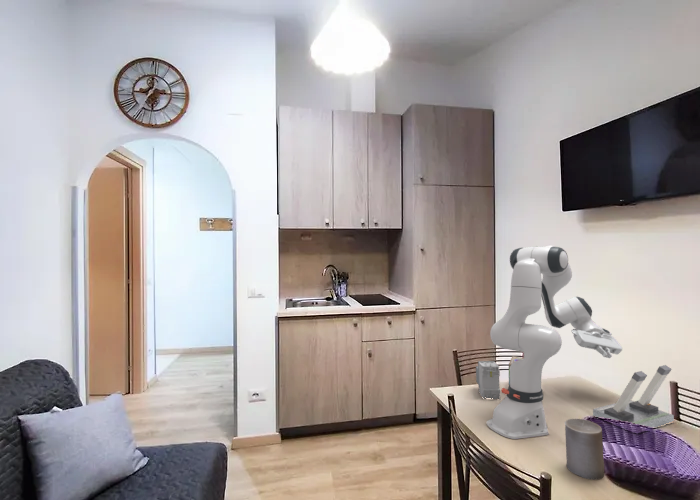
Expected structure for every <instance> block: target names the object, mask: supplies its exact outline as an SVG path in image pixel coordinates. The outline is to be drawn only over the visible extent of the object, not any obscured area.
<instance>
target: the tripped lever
mask: <svg viewBox="0 0 700 500" xmlns="http://www.w3.org/2000/svg"><path fill="white" fill-rule="evenodd" d="M672 370H673V369H672V367H671V368H670V366H668V365H666V364H664V365H660V366H659V367H658V368H657V369H656V372H655V374H654V376H653V377H652V379H651V380H650V382H649V383H648V385H647V387H646V388H645V390H644V391H643V393H642V394H641V396H640V398H639V399H638V400H637V401H638V402H639V403H641V404H642V405H647V404H651V402H652V400H653V398H654V397H655V395H656V394H657V392H658V391H659V389H660V388H661V386H662V385H663V382H664V381H665V380H666V378H667V376H668V375H669V374H670V373H671V372H672Z"/></svg>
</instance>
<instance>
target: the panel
mask: <svg viewBox="0 0 700 500" xmlns="http://www.w3.org/2000/svg"><path fill="white" fill-rule="evenodd" d="M638 401H639V400H636V401H634V400H631V401H630V402H629V404H628V406H627V407H626V409H625V410H624V411H622V412H617V411H616V410H614V409H613V408H614V406H615V404H616V403H617V402H615V403H611V404H607V405H603V406H599V407H595V408H592V417H593V416H596V417H604V418H610V419H615V420H621V421H628V422H632V423H635V424H639V425H645V426H650V427H658V426H661V425H664V424H666V423H669V422H672V421H674V422H675V419H674V416H675V415H674V414H672V413H669V412H666V411H662V410H660V409H659V406H656V405H653V404H651V403H649V404H647V405H642V404H641V403H639V402H638Z"/></svg>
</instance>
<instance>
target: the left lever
mask: <svg viewBox="0 0 700 500" xmlns="http://www.w3.org/2000/svg"><path fill="white" fill-rule="evenodd" d="M647 377H648V374H647V373H645V372H643V371H642V370H641V371H635V372H634V373H633V375H632V376H631V378H630V379H629V382H628V383H627V385H626V387H625V388H624V389H623V392H622V393H621V395H620V397H618V400H617V402H615V403H616V404H615V406H614V408H613V409H614V410H616V411H617V412H622V411H624V410H625V409H626V407H627V406H628V404H629V402H630V401H632V399H633V398H634V396H635V394H636V393H637V391H638V390H639V388H640V386H641V385H642V384H643V382H644V381H645V380H646V378H647Z"/></svg>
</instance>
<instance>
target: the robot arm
mask: <svg viewBox="0 0 700 500" xmlns="http://www.w3.org/2000/svg"><path fill="white" fill-rule="evenodd" d="M509 264H510V267H511V268H512V273H511V274H512V275H511V280H510V296H509V304H508V308H507V310H506V312H505V314H504V315H503V316H502V318H500V319H499V320H498V321H496V322H495V323H493V325H492V326H491V328H490V332H489V333H490V334H489V335H490V339H491V341H492V343H493V345H494V346H497V347H500V348H502V349H505V350H509V351H510V350H511V351H514V352H522V353H523V358H524V359H521V360H518V361H515V362H514V363H512V364H511V366H510V385H509V384H508V388H506V387H502V388H501V389H500V393H502V394H504V395H506V396H505V397H504V398H503V399H502V400H501V402H499V404H498V405H496V406H495V407H494V409H493V413H492V418H490V419H488V420H486V425H487V427H488V428H490V429H491V430H492V431H493V432H495V433H497V434H498V435H501V436H503V437H505V438H508V439H512V440H517V439H526V438H533V437H542V436H549V435H550V433H549V429H548V424H547V421H546V413H545V409H544V405H543V404H544V403H543V400H544V391H543V390H544V389H543V388H542V377H543V376H542V373H543V367H544V365H545V364H546V362H547V361H548V360H550V358H552V357H553V356H555V355H556V354H558V352H560V350H561V347H562V343H563V342H562V341H563V340H562V337H561V334H560V333H559V331H557V330H556V329H555V328H557V329H562V328H563V327H565V326H566V325H568V324H570V325H571V326H572V327H573V329H571V333H572V334H573V338H574V340H575V342H576V344H577V345H578V346H579V347H581V348H585V349H590V350H595V351H596V352H597V353H599V354H600V355H601V356H602V357H603V358H608V359H611V358H612V357H613V355H620V353H621V352H622V351H623V347H622V345H621V344H620V343H619V341H618V340H617V339H616V337H614V336H613V334H612V332H611V331H610V330H608V329H606V328H603V327H601V326H600V325H598V324H597V323H596V322H595V321H593V320H592V317H593V316H592V315H593V310H592V309H593V308H592V307H591V306H590V304H589V303H588V302H587V301H586V300H585V298H583V297H580V296H574V297H571V298H569V299H566V300H564V301H562V302H560V303H558V304H555V301H554V296H556V294H557V293H558V292H559V291H560V290H562V289H563V288H564V287H566V286H567V285H568V284H569V282H570V281H571V280H572V277H573V271H572V268H571V265H570V264H569V256H568V252H567V251H566V250H565V249H564V248H562V247H560V246H555V245H545V246H537V245H536V246H528V247H519V248H515V249H514V250H512V252H511V253H510V256H509ZM542 304H543V308H544V314H545V315H544V316H545V319H546V321H547V323H548V324H549V325H550V326H551V327H549V326H546V325H540V324H539V325H538V324H534V323H533V324H532V323H526V320H527V318H528V317H529V316H531V315H533V314H536V313H537V312H539V311H540V310H541V307H542ZM552 327H554V328H552ZM612 354H613V355H612Z"/></svg>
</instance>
